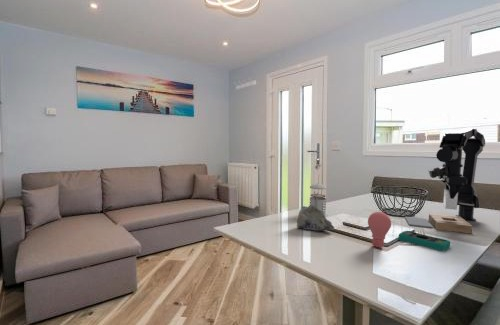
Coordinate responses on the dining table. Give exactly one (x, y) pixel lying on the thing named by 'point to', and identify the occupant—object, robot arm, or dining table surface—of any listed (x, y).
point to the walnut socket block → (450, 223)
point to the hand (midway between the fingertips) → (450, 197)
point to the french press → (318, 197)
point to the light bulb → (379, 227)
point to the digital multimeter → (425, 240)
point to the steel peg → (449, 200)
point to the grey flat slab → (418, 222)
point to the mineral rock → (313, 219)
